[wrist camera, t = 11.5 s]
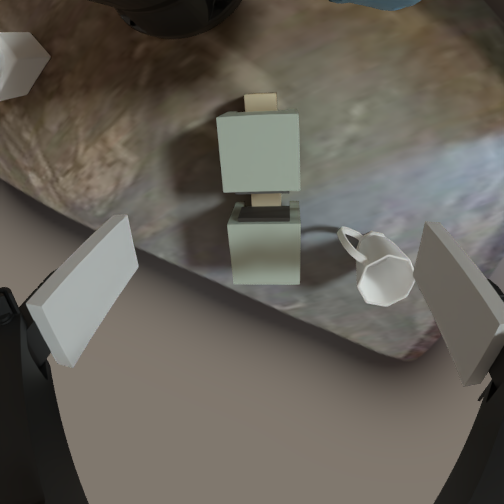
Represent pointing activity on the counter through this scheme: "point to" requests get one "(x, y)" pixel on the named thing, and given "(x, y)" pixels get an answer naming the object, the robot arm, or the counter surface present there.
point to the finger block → (259, 151)
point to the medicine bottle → (19, 63)
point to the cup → (379, 267)
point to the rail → (265, 229)
